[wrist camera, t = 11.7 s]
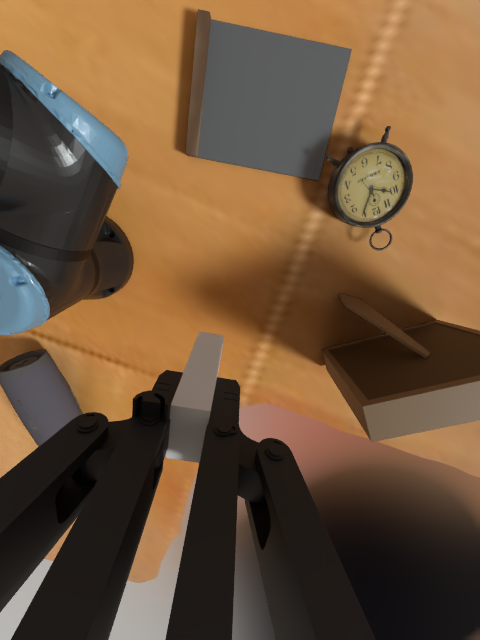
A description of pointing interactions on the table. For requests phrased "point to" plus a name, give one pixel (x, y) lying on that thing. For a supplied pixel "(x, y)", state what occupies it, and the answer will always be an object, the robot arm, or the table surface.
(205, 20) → the stop strip
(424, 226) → the table surface
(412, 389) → the photo frame
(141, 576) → the table surface
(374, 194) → the alarm clock
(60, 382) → the bluetooth speaker
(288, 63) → the mat
